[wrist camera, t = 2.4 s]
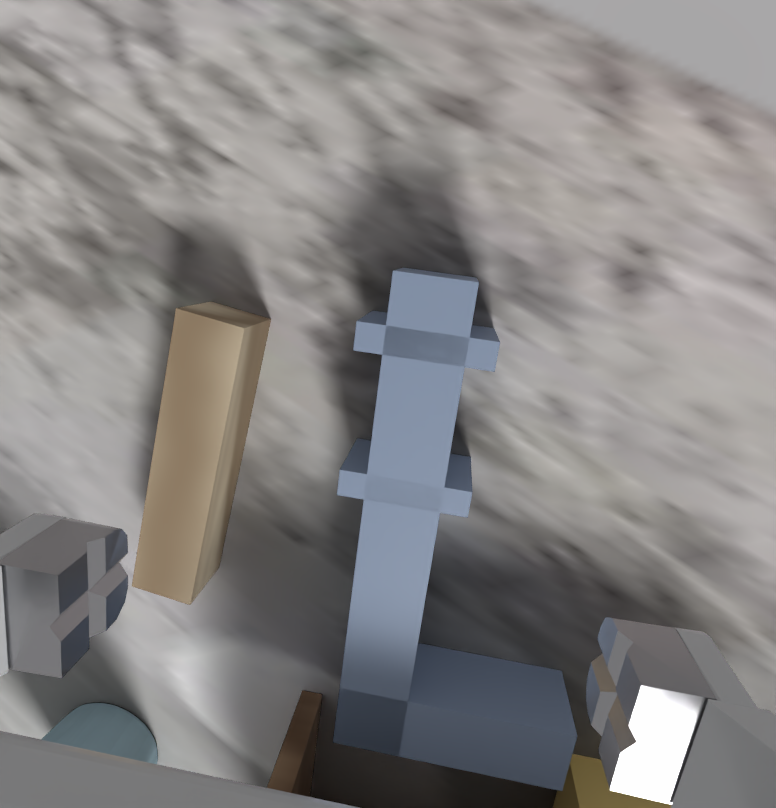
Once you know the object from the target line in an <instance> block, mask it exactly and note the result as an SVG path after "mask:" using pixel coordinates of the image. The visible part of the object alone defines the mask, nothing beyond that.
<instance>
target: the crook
mask: <svg viewBox="0 0 776 808" xmlns="http://www.w3.org/2000/svg"><path fill="white" fill-rule="evenodd" d="M478 285H479V282H478V280H477V278H476V277H469V276H461V275H454V274H447V273H439V272H432V271H425V270H418V269H410V268H400V269H397V270H393V274H392V282H391V290H390V298H389V306H388V313H386V312H379V311H371V312H370V313H368V314H367V315H365V316H364V317H362V318H361V319H359V320H358V321H357V322H356V331H355V340H354V349H353V350H354V351H361V352H367V353H374V354H380V355H382V361H381V368H380V376H379V384H378V392H377V400H376V408H375V415H374V423H373V431H372V439H371V440H365V439H359V438H357V440H356V442H355V443H354V445H353V447H352V449H351V451H350V452H349V454H348V456H347V458H346V460H345V461H344V463H343V465H342V467H341V469H340V472H339V481H338V490H337V495H340V496H346V497H352V498H357V499H363V500H364V502H363V509H362V517H361V525H360V533H359V541H358V549H357V556H356V564H355V572H354V580H353V588H352V596H351V604H350V611H349V619H348V627H347V635H346V643H345V651H344V658H343V666H342V674H341V682H340V690H339V698H338V705H337V713H336V721H335V729H334V737H333V743H337V744H342V745H347V746H351V747H356V748H361V749H366V750H370V751H375V752H380V753H384V754H389V755H394V756H399V757H403V758H408V759H413V760H417V761H422V762H427V763H432V764H436V765H441V766H446V767H450V768H455V769H460V770H465V771H469V772H474V773H479V774H483V775H488V776H493V777H498V778H502V779H507V780H512V781H517V782H521V783H526V784H531V785H535V786H540V787H545V788H550V789H554V790H559V791H562V790H563V786H564V783H565V779H566V775H567V772H568V768H569V765H570V761H571V757H572V754H573V750H574V746H575V743H576V739H577V733H576V729H575V724H574V720H573V716H572V712H571V708H570V704H569V699H568V695H567V691H566V687H565V683H564V679H563V675H562V671H560V670H555V669H550V668H545V667H540V666H534V665H529V664H524V663H519V662H514V661H509V660H503V659H498V658H493V657H488V656H483V655H478V654H473V653H467V652H462V651H457V650H452V649H447V648H442V647H436V646H431V645H426V644H421V643H418V640H419V634H420V628H421V622H422V616H423V610H424V604H425V598H426V593H427V587H428V581H429V575H430V569H431V563H432V557H433V551H434V545H435V539H436V533H437V528H438V522H439V516H440V513H444V514H449V515H455V516H461V517H467V518H468V513H469V508H470V502H471V497H472V475H471V457H468V456H462V455H456V454H450V451H451V445H452V439H453V433H454V427H455V421H456V415H457V409H458V403H459V398H460V392H461V386H462V380H463V374H464V368H465V367H467V368H473V369H480V370H486V371H493V372H495V367H496V361H497V356H498V350H499V345H500V341H499V339H498V336H497V334H496V332H495V329H494V328H490V327H483V326H476V325H472V321H473V315H474V309H475V303H476V297H477V291H478Z"/></svg>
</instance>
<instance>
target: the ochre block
mask: <svg viewBox="0 0 776 808" xmlns="http://www.w3.org/2000/svg"><path fill="white" fill-rule="evenodd" d="M553 808H671V804H667V803H663V802H659V801H654V800H650V799H646V798H641V797H637V796H633V795H629V794H624V793H620V792H616V791H611V790H610V789H609V786H608V782H607V779H606V775H605V772H604V768H603V765H602V762H601V760H600V759H595V758H590V757H586V756H581V755H576V754H572V757H571V761H570V765H569V768H568V772H567V775H566V779H565V783H564V786H563V790H562V791H559V790H557V794H556V797H555V801H554V804H553Z"/></svg>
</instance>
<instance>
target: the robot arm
mask: <svg viewBox="0 0 776 808" xmlns="http://www.w3.org/2000/svg"><path fill="white" fill-rule="evenodd" d="M127 553H128V542H127V535H126V533H125V532H124V531H123V530H122V529H120V528H115V527H110V526H105V525H100V524H95V523H90V522H85V521H80V520H75V519H70V518H69V519H68V518H66V517H61V516H55V515H49V514H33V515H31V516H29V517H28V518H26V519H24V520H23V521H21V522H20V523H18V524H16V525H15V526H13V527H11V528H10V529H8V530H6V531H5V532H3V533H2V534H0V676H2V675H4V674H6V673H8V672H9V669H10V670H16V671H22V672H28V673H34V674H39V675H45V676H51V677H57V678H63V676H64V675H65V674H66V673H67V672H68V671H69V670H70V669H71V668H72V667H73V666H74V665H75V664H76V663H77V661H78V660H79V659H80V658H81V657H82V656H83V655H84V654H85V653H86V652H87V651H88V650H89V638H90V637H92V636H95V635H97V634H100V633H102V632H104V631H106V630H107V629H108V628H109V627H110V626H111V625H112V624H113V622H114V621H115V620H116V619H117V617H118V615H119V613H120V611H121V609H122V607H123V605H124V603H125V599H126V594H127V589H128V575H127V573H126V572H125V570H124V569H123V567H122V566H121V564H120V563H119V562H120V561H121V560H122V559H123V558H124V557H125V555H126V554H127ZM597 639H598V642H599V645H600V648H601V651H602V654H601V655H600V656H598V657H597V658H596V659H594V660H593V661H592V662H591V664H590V669H589V673H588V677H587V687H586V703H587V711H588V715H589V719H590V723H591V726H592V727H593V728H594V729H595V730H596V731H597V732H598V733H599V734H600V735H601V736H602V738H601V742H600V745H599V749H598V751H599V755H600V758H601V762H602V765H603V768H604V772H605V775H606V779H607V782H608V786H609V789H610V790H611V791H616V792H620V793H624V794H629V795H633V796H637V797H641V798H646V799H650V800H654V801H659V802H663V803H667V804H671V808H776V715H775V714H773V713H772V712H771V711H769V710H764V709H759V708H757V706H756V705H755V703H754V702H753V700H752V699H751V697H750V696H749V694H748V693H747V691H746V690H745V688H744V687H743V685H742V684H741V682H740V681H739V679H738V678H737V676H736V675H735V673H734V672H733V670H732V669H731V667H730V666H729V664H728V663H727V661H726V660H725V658H724V657H723V655H722V654H721V652H720V651H719V649H718V648H717V646H716V645H715V643H714V642H713V640H712V639H711V637H710V636H709V635H707V634H706V633H704V632H703V631H696V630H689V629H682V628H675V627H666V626H660V625H653V624H647V623H640V622H634V621H628V620H621V619H615V618H608V617H606V618H605V619H604V621H603V623H602V625H601V628H600V631H599V635H598V638H597ZM0 808H360V807H355V806H350V805H346V804H341V803H336V802H331V801H327V800H322V799H317V798H312V797H308V796H303V795H298V794H294V793H289V792H284V791H279V790H275V789H270V788H265V787H260V786H256V785H251V784H246V783H242V782H237V781H232V780H227V779H223V778H218V777H213V776H209V775H204V774H199V773H195V772H190V771H185V770H181V769H176V768H171V767H167V766H162V765H157V764H153V763H148V762H143V761H139V760H134V759H129V758H125V757H120V756H115V755H111V754H106V753H101V752H96V751H92V750H87V749H82V748H78V747H73V746H68V745H64V744H59V743H54V742H50V741H45V740H40V739H36V738H31V737H26V736H22V735H17V734H12V733H8V732H3V731H0Z"/></svg>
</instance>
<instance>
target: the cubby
mask: <svg viewBox="0 0 776 808" xmlns="http://www.w3.org/2000/svg"><path fill="white" fill-rule="evenodd" d="M321 701H322V694H318V693H313V692H308V691H303V690H302V693H301V695H300V698H299V701H298V704H297V706H296V709H295V712H294V715H293V717H292V720H291V723H290V726H289V728H288V731H287V734H286V737H285V739H284V742H283V745H282V748H281V750H280V753H279V756H278V759H277V761H276V764H275V767H274V770H273V772H272V775H271V778H270V781H269V783H268V786H267V788H270V789H275V790H279V791H284V792H289V793H294V794H298V795H303V796H308V797H310V795H311V786H312V778H313V769H314V761H315V752H316V744H317V735H318V727H319V718H320V710H321Z"/></svg>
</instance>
